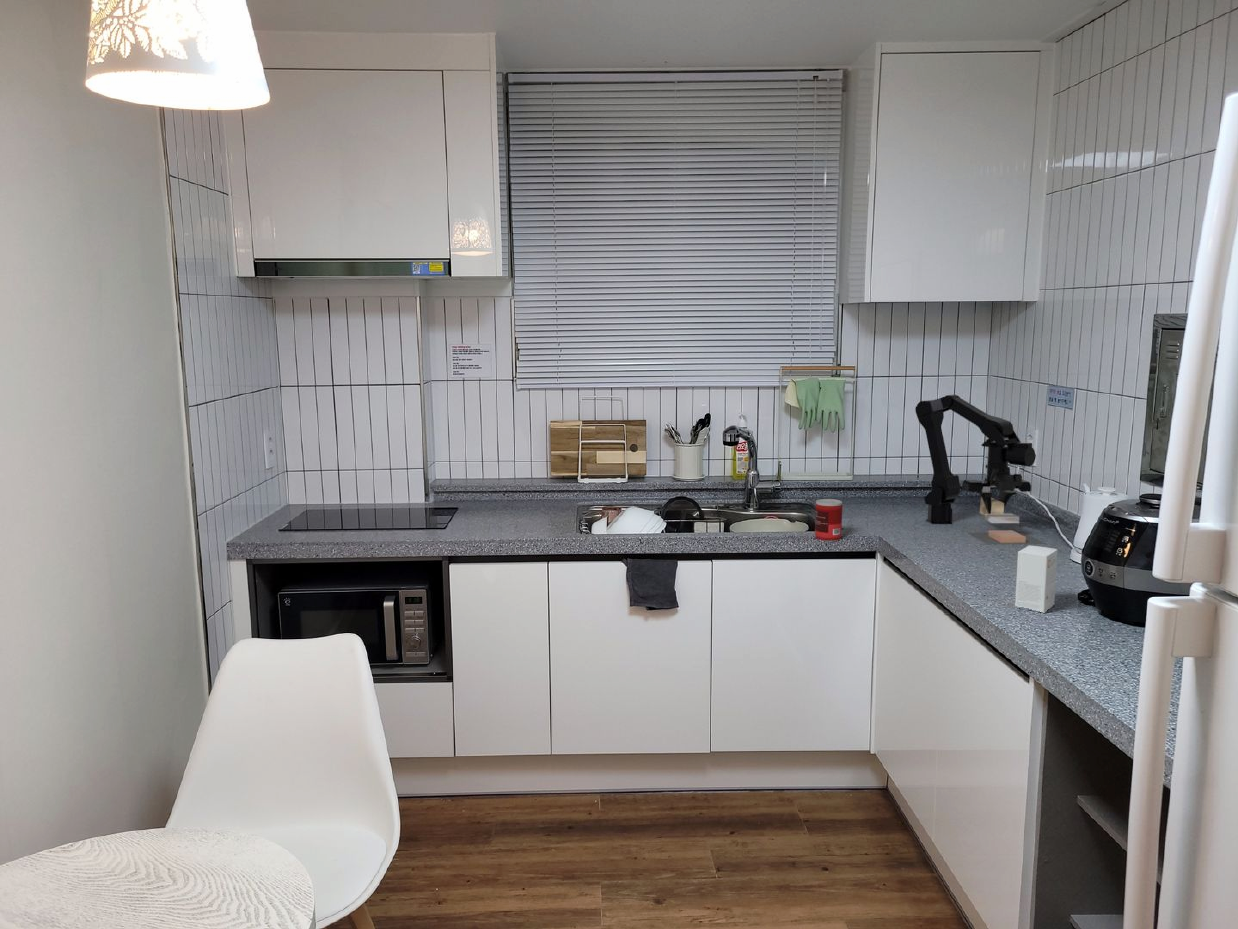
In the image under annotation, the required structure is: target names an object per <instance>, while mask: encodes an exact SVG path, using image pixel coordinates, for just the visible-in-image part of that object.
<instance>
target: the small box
mask: <svg viewBox="0 0 1238 929" xmlns="http://www.w3.org/2000/svg"><path fill="white" fill-rule="evenodd" d="M1016 560H1017V562H1016V564H1017V565H1016V579H1015V580H1016V581H1015V598H1014V602H1015V604H1014V607H1015V606H1017V607H1024V608H1029V609H1032V610H1036V611H1040V612H1043V613H1044V614H1045V613H1046V612H1047V610H1048V609H1049V610H1050V609H1051V608H1053V607H1054V606H1055V598H1056V597H1055V596H1056V582H1057V580H1056V579H1057V566H1058V564H1057V563H1058V548H1053V547H1052V548H1051V547H1046V546H1040V545H1039V546H1037V545H1032V544H1028V545H1026V547H1024V548H1022V549H1020V550H1019V551H1017V559H1016ZM1053 605H1054V606H1053ZM1049 610H1048V611H1049ZM1043 613H1042V614H1043Z"/></svg>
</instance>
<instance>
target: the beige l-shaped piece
mask: <svg viewBox="0 0 1238 929" xmlns="http://www.w3.org/2000/svg"><path fill="white" fill-rule="evenodd" d="M979 505H980V506H979V513H980V514H981V515H983V516H984V521H987V522H988V523H991V524H1020V516H1018V515H1016V514H1014V513H1005V508H1004V503H1003V502H1000V501H999V499H996V498H993V497H991V514H988V512H987V509H986V507H985V504H984V501H983V499H982V497H981V496H980V504H979Z"/></svg>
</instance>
